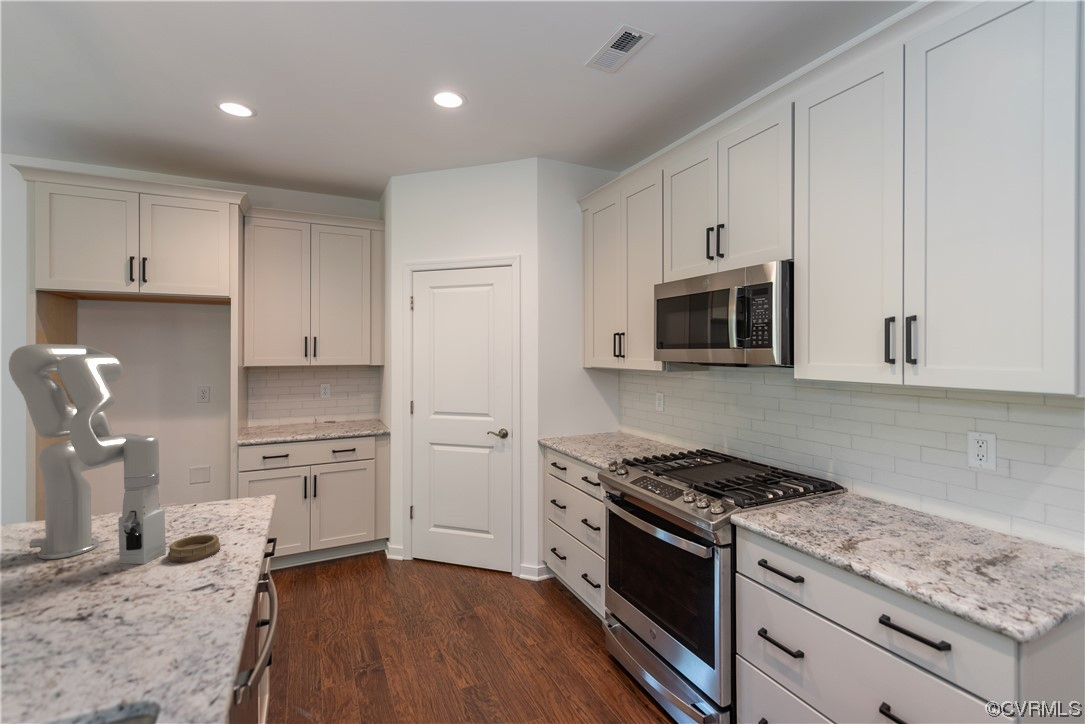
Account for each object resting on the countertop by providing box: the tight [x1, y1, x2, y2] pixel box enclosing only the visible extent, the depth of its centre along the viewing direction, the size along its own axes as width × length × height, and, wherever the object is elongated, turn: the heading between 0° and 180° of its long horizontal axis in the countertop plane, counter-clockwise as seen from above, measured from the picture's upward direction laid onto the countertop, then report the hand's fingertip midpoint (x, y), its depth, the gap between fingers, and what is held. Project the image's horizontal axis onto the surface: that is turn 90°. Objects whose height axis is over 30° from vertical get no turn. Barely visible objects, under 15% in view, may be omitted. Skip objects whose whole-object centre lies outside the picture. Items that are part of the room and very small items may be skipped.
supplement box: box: [117, 509, 167, 565], centre depth 135 cm, size 7×7×13 cm
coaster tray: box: [167, 533, 221, 564], centre depth 138 cm, size 12×12×4 cm
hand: (143, 542), depth 135 cm, fingers open, 9 cm apart
